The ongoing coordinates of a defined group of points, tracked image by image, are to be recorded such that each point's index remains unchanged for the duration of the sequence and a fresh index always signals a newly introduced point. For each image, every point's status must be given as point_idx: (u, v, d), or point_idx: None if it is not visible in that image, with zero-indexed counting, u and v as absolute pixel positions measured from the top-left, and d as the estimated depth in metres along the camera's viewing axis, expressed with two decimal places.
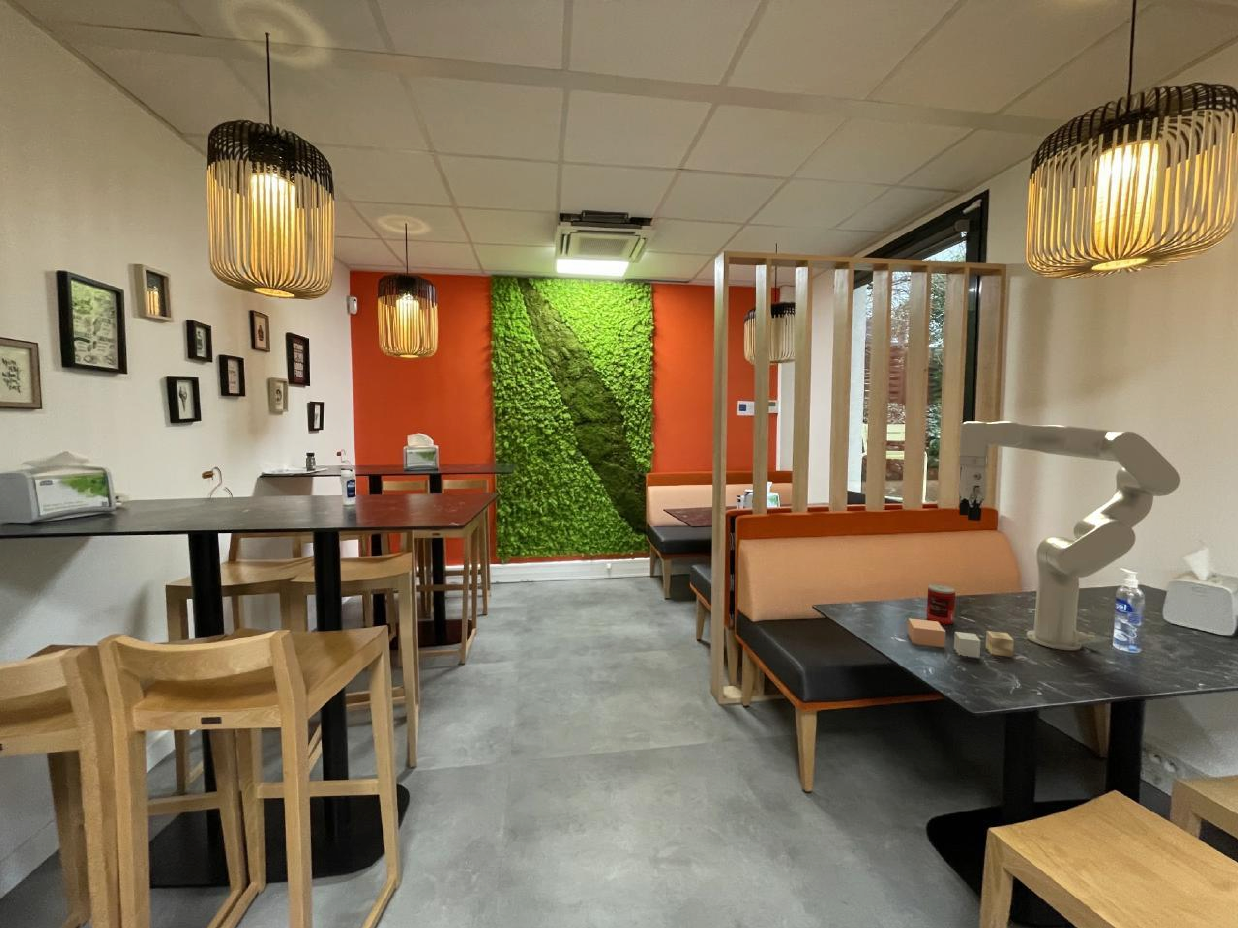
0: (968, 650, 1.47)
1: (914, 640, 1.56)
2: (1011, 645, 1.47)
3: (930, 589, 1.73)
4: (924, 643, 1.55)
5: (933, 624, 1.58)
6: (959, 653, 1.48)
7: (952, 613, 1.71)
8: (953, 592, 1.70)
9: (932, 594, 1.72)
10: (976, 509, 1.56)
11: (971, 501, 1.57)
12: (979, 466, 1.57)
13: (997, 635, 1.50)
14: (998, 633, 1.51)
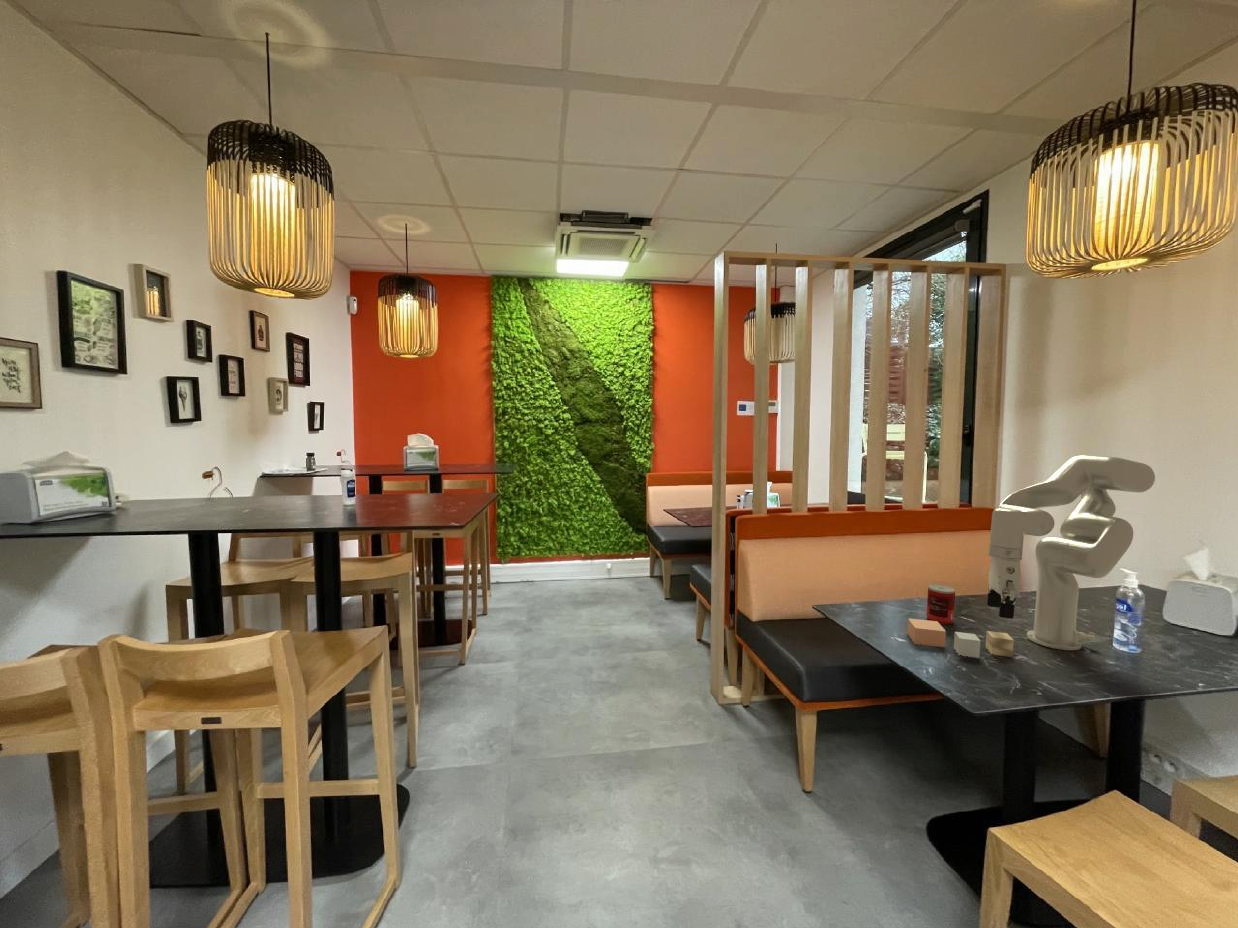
0: (968, 650, 1.47)
1: (915, 640, 1.55)
2: (1011, 645, 1.47)
3: (930, 589, 1.73)
4: (925, 643, 1.55)
5: (933, 624, 1.58)
6: (959, 653, 1.48)
7: (952, 613, 1.71)
8: (953, 592, 1.70)
9: (932, 594, 1.72)
10: (1009, 606, 1.43)
11: (1003, 597, 1.44)
12: (1012, 558, 1.44)
13: (997, 635, 1.50)
14: (998, 633, 1.51)
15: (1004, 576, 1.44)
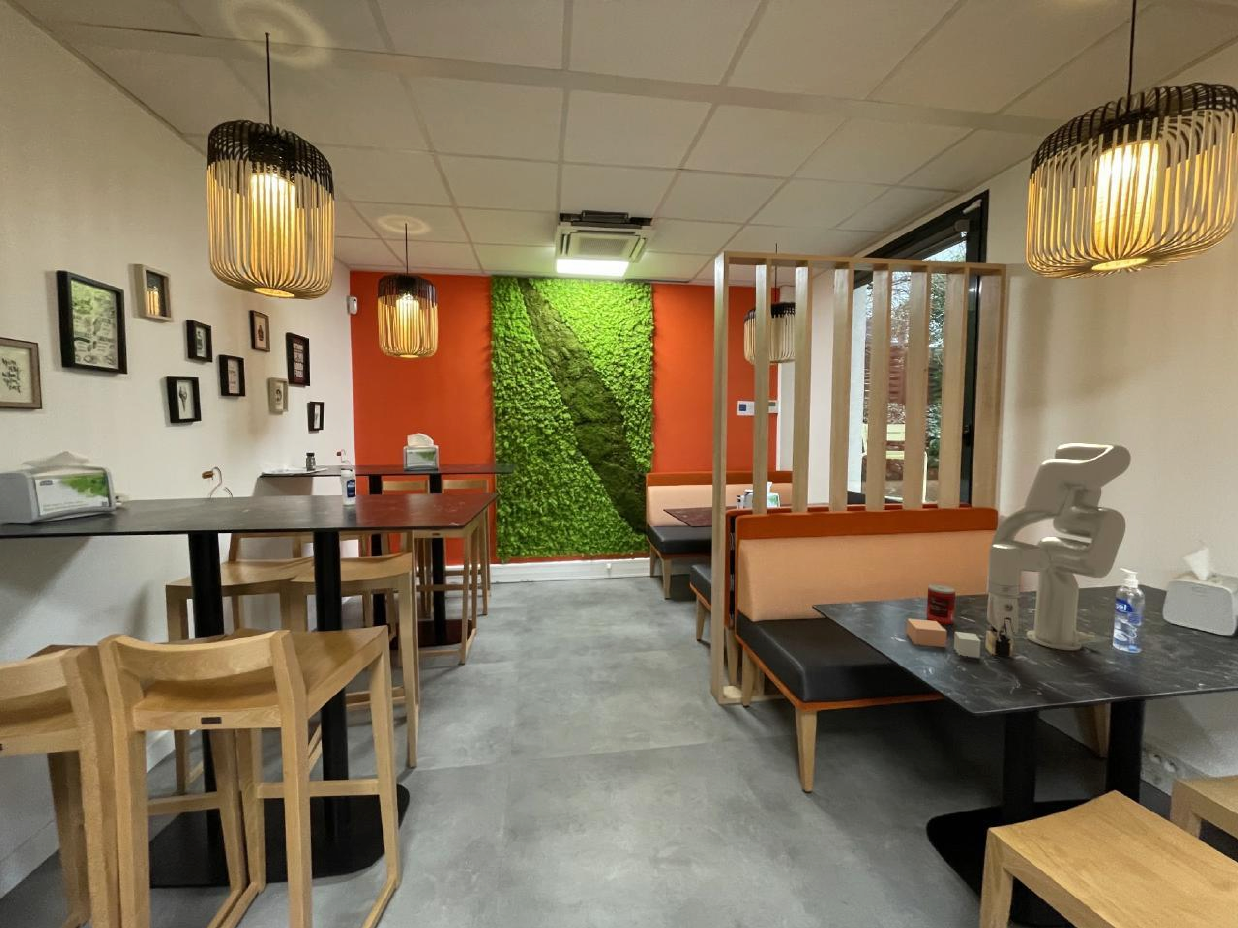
0: (968, 650, 1.47)
1: (916, 641, 1.55)
2: (1011, 645, 1.47)
3: (930, 589, 1.73)
4: (925, 643, 1.55)
5: (933, 624, 1.58)
6: (959, 653, 1.48)
7: (952, 613, 1.71)
8: (953, 592, 1.70)
9: (932, 594, 1.72)
10: (1004, 644, 1.46)
11: (1000, 636, 1.47)
12: (1010, 596, 1.45)
13: None
14: None
15: (1002, 613, 1.45)
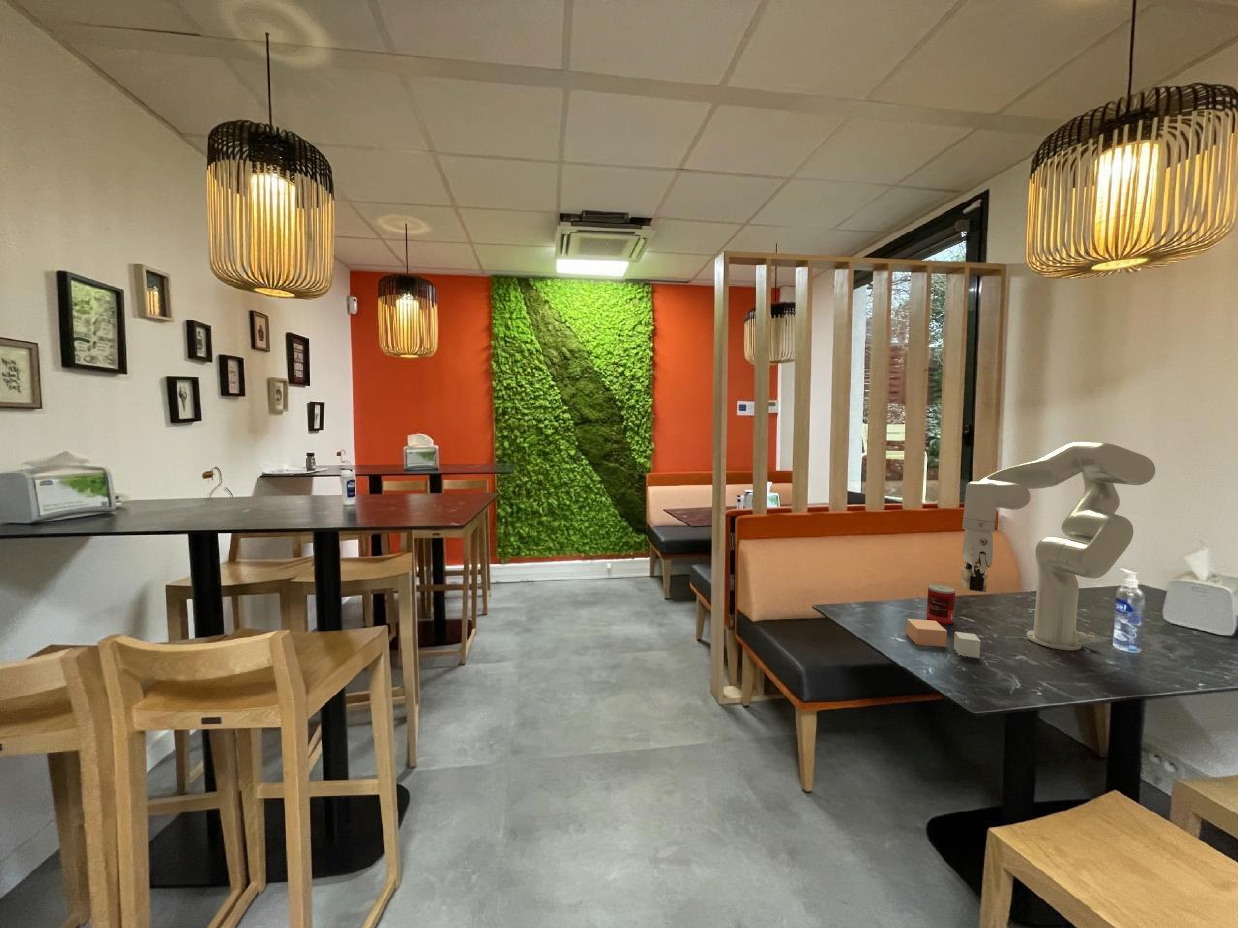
0: (968, 650, 1.47)
1: (917, 641, 1.55)
2: (985, 580, 1.48)
3: (930, 589, 1.73)
4: (926, 643, 1.54)
5: (932, 624, 1.58)
6: (959, 653, 1.48)
7: (952, 613, 1.71)
8: (953, 592, 1.70)
9: (932, 594, 1.72)
10: (979, 579, 1.48)
11: (974, 570, 1.48)
12: (985, 530, 1.47)
13: None
14: None
15: (977, 548, 1.47)
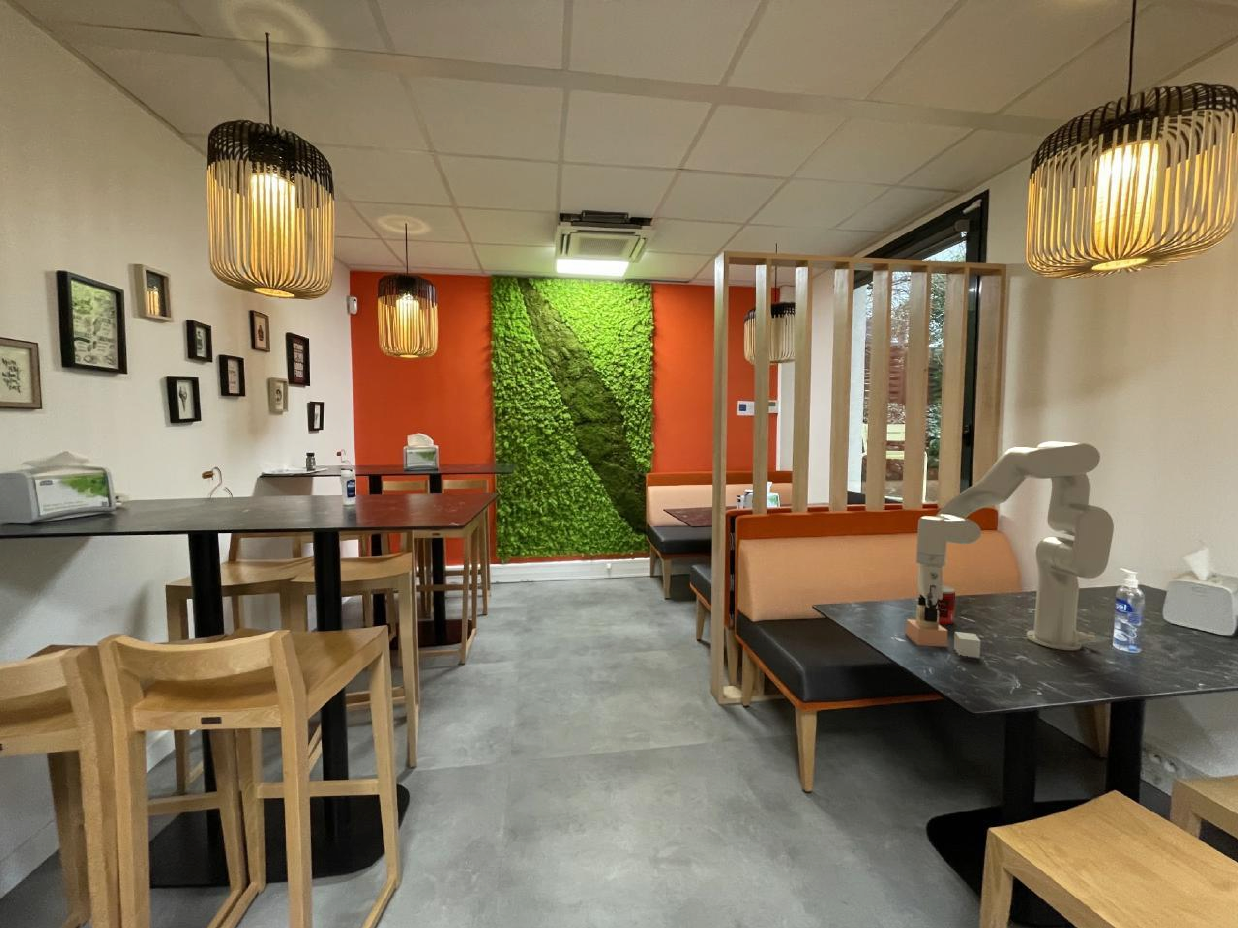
0: (968, 650, 1.47)
1: (918, 641, 1.55)
2: (937, 617, 1.54)
3: None
4: (927, 644, 1.54)
5: None
6: (959, 653, 1.48)
7: (952, 613, 1.71)
8: (953, 592, 1.70)
9: None
10: (932, 610, 1.52)
11: (927, 601, 1.53)
12: (936, 564, 1.53)
13: None
14: None
15: (928, 581, 1.52)
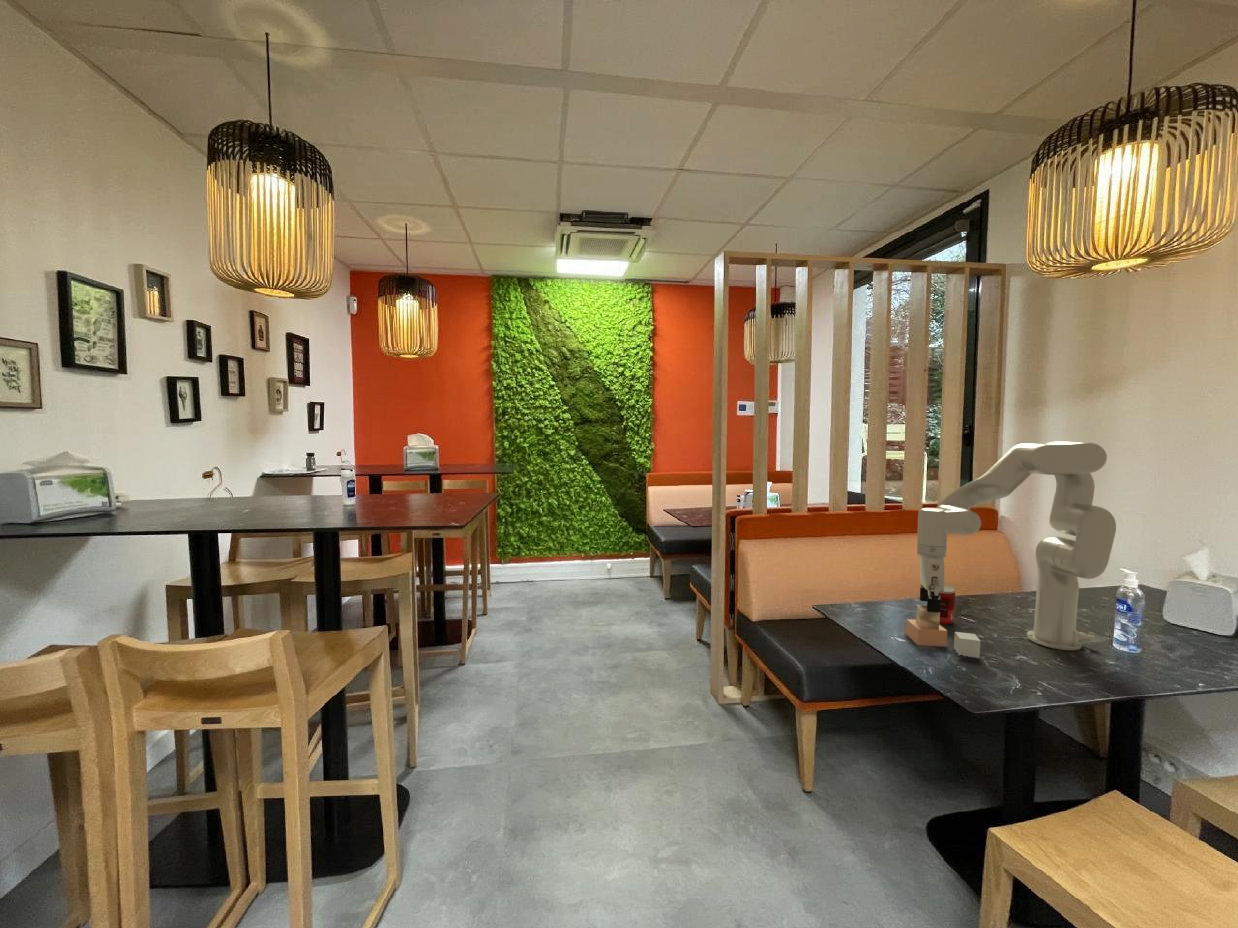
0: (968, 650, 1.47)
1: (918, 641, 1.55)
2: (938, 617, 1.54)
3: None
4: (927, 644, 1.54)
5: None
6: (959, 653, 1.48)
7: (952, 613, 1.71)
8: (953, 592, 1.70)
9: None
10: (935, 601, 1.51)
11: (930, 592, 1.52)
12: (937, 556, 1.52)
13: (926, 608, 1.57)
14: None
15: (929, 573, 1.52)
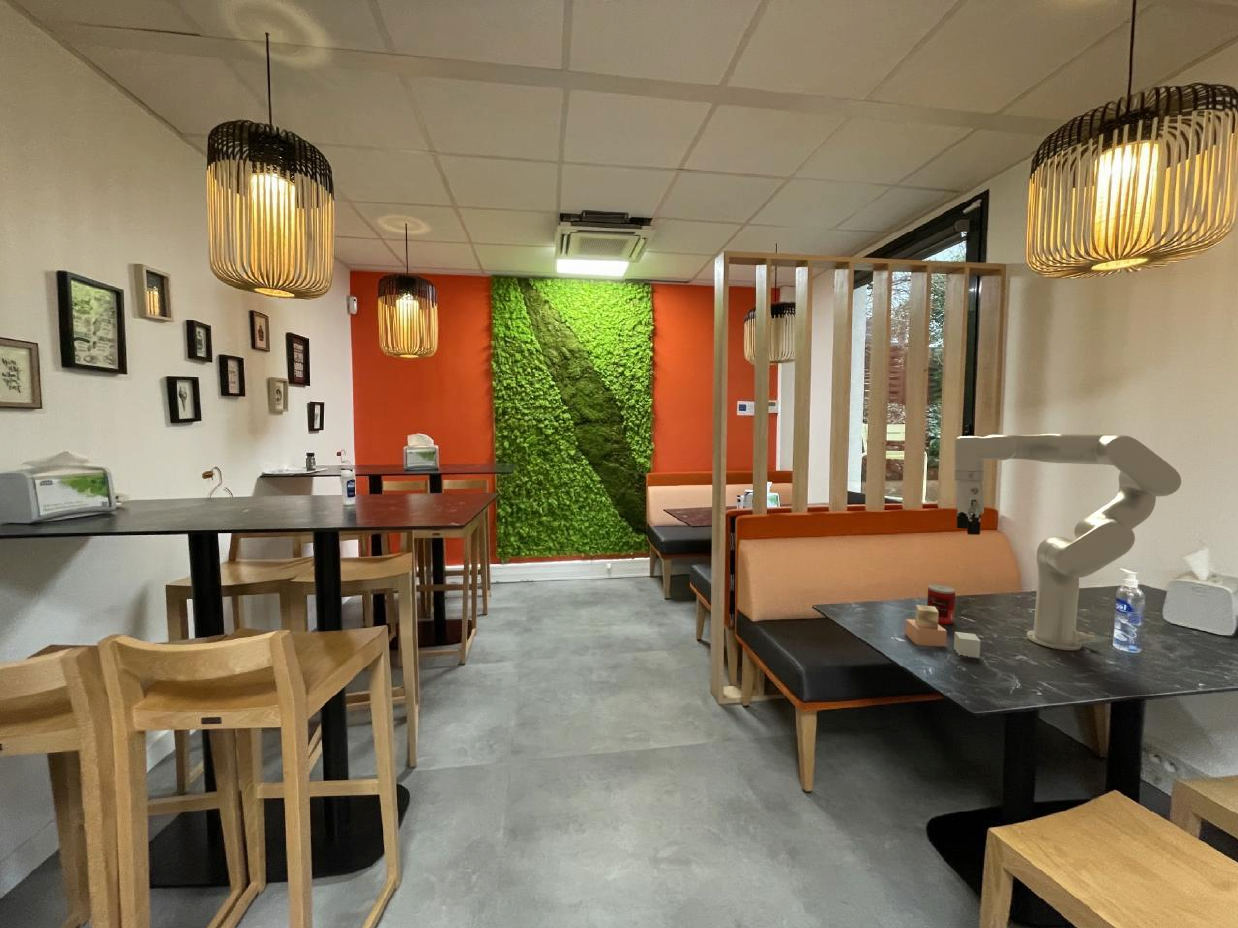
0: (968, 650, 1.47)
1: (917, 641, 1.55)
2: (936, 617, 1.54)
3: (930, 589, 1.73)
4: (927, 644, 1.54)
5: None
6: (959, 653, 1.48)
7: (952, 613, 1.71)
8: (953, 592, 1.70)
9: (932, 594, 1.72)
10: (975, 523, 1.57)
11: (970, 515, 1.58)
12: (975, 480, 1.58)
13: (925, 608, 1.57)
14: (926, 606, 1.59)
15: (969, 496, 1.58)
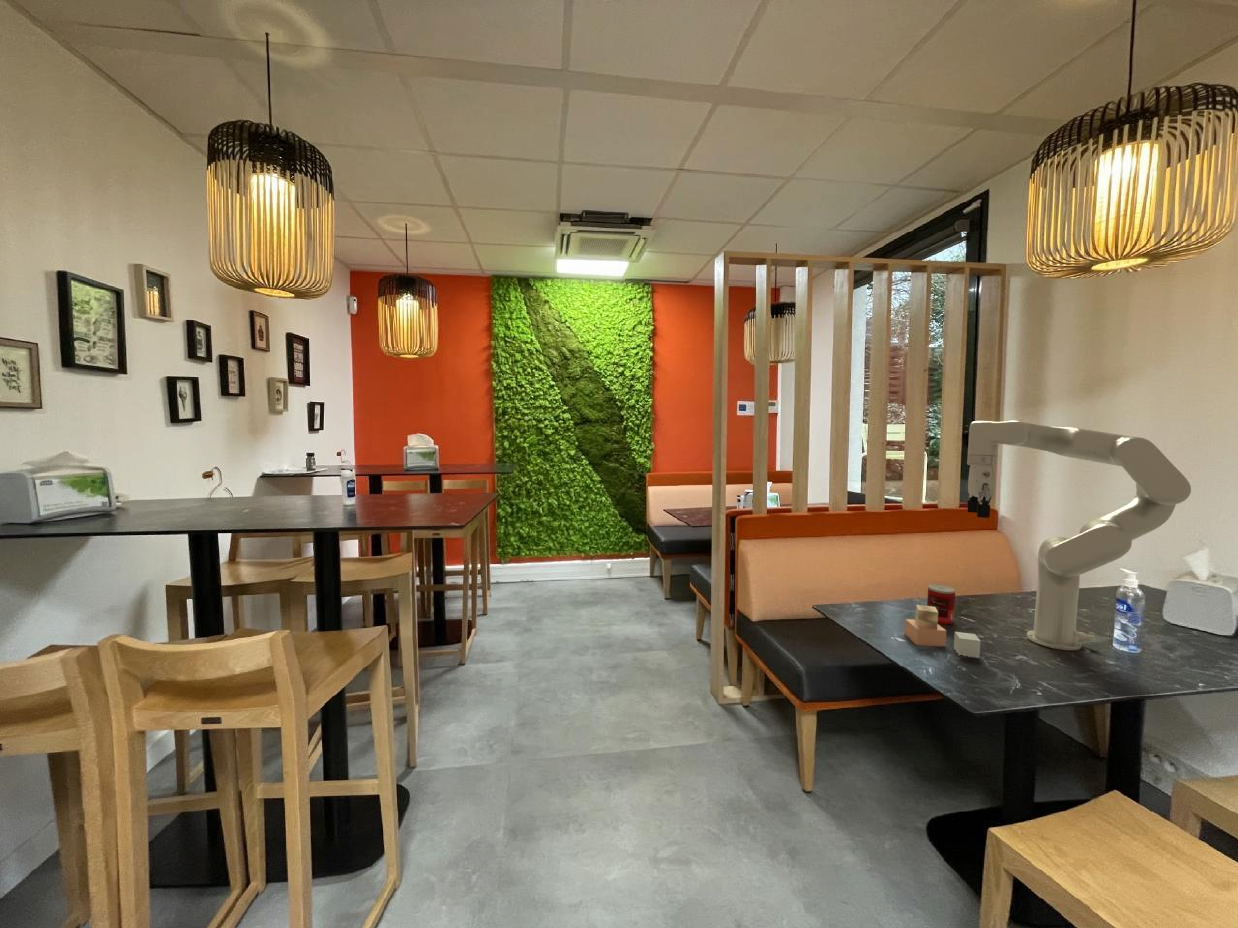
0: (968, 650, 1.47)
1: (917, 641, 1.55)
2: (936, 617, 1.54)
3: (930, 589, 1.73)
4: (926, 644, 1.54)
5: None
6: (959, 653, 1.48)
7: (952, 613, 1.71)
8: (953, 592, 1.70)
9: (932, 594, 1.72)
10: (985, 506, 1.60)
11: (980, 498, 1.61)
12: (988, 464, 1.61)
13: (924, 608, 1.58)
14: (926, 606, 1.59)
15: (980, 480, 1.61)
